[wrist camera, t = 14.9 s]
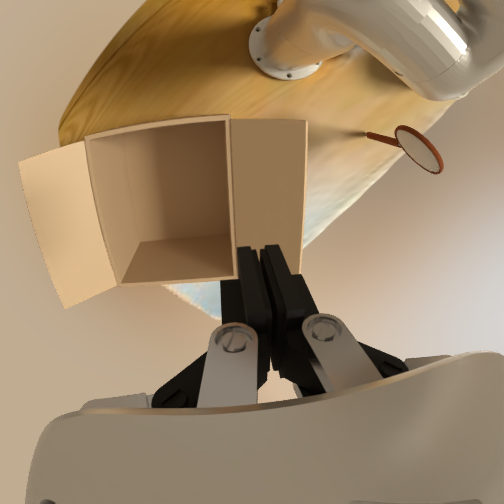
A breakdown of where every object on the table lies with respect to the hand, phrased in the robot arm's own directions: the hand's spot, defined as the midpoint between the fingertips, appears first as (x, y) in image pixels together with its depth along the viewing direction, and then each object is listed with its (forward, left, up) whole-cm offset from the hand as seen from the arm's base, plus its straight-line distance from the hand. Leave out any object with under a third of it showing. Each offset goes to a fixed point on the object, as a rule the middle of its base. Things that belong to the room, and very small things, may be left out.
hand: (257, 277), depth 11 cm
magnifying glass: (-3, +25, -37) cm, 45 cm away
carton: (+5, -9, -37) cm, 38 cm away
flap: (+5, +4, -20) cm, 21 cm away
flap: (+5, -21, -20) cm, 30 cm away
